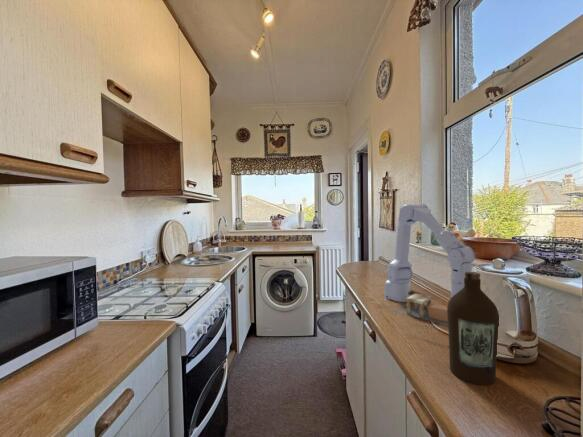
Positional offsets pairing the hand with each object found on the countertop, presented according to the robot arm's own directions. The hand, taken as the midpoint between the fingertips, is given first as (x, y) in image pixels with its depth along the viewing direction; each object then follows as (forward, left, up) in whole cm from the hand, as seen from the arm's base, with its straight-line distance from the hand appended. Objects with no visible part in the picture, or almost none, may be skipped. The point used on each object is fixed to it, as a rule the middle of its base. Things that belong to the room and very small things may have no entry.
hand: (460, 321), depth 95 cm
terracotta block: (-4, 0, -1) cm, 4 cm away
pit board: (-12, 0, -2) cm, 12 cm away
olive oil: (+9, -29, -2) cm, 31 cm away
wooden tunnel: (-14, 0, -1) cm, 14 cm away
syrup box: (-33, +29, -2) cm, 44 cm away
